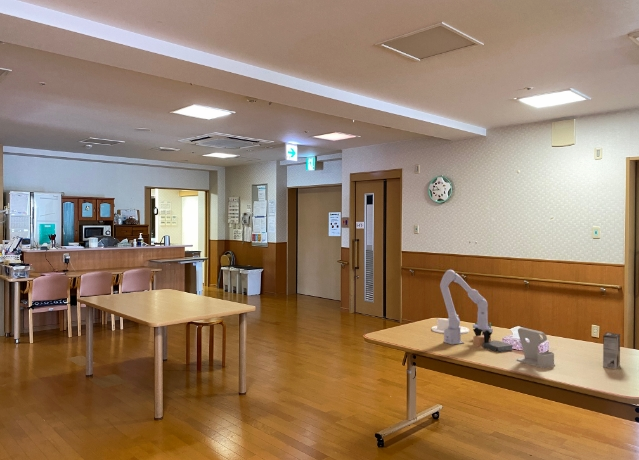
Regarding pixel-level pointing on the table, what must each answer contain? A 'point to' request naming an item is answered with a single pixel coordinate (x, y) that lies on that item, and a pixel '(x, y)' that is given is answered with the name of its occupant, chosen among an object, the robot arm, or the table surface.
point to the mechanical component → (484, 330)
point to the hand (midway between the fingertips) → (482, 341)
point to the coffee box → (611, 350)
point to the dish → (446, 326)
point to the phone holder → (534, 349)
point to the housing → (479, 340)
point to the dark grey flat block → (497, 346)
